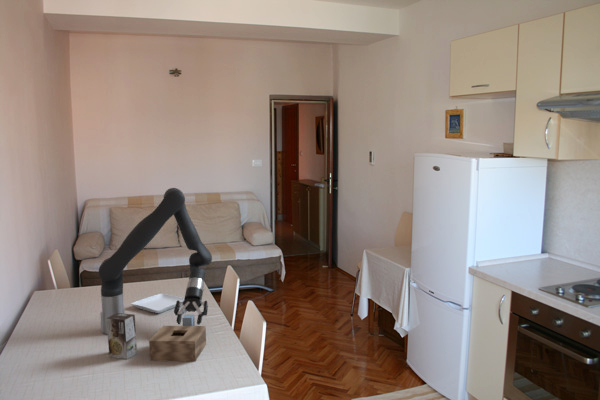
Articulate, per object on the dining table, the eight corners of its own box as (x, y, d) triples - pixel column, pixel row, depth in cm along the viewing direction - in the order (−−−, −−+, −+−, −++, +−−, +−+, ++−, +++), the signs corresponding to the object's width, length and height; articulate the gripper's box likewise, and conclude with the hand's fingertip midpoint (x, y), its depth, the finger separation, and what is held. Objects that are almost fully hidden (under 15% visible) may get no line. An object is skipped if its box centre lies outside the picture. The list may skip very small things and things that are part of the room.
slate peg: (183, 340, 209) (182, 317, 208) (186, 336, 213) (185, 314, 212) (192, 340, 208) (191, 317, 207) (195, 336, 212) (194, 314, 211)
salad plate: (189, 304, 257) (189, 298, 257) (158, 316, 240) (157, 310, 239) (161, 298, 269) (161, 292, 268) (130, 309, 251) (129, 303, 250)
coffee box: (137, 353, 197) (135, 314, 195) (127, 359, 191) (124, 319, 189) (119, 350, 200) (116, 312, 198) (108, 356, 194) (105, 317, 192)
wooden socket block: (150, 360, 189) (149, 340, 188) (164, 343, 205) (163, 325, 204) (195, 361, 188) (194, 341, 187) (206, 344, 204) (205, 325, 203)
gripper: (177, 286, 217) (169, 320, 207) (208, 286, 216) (202, 320, 206) (181, 294, 223) (174, 327, 213) (211, 294, 222) (206, 327, 212)
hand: (188, 323), depth 209 cm, fingers open, 8 cm apart
